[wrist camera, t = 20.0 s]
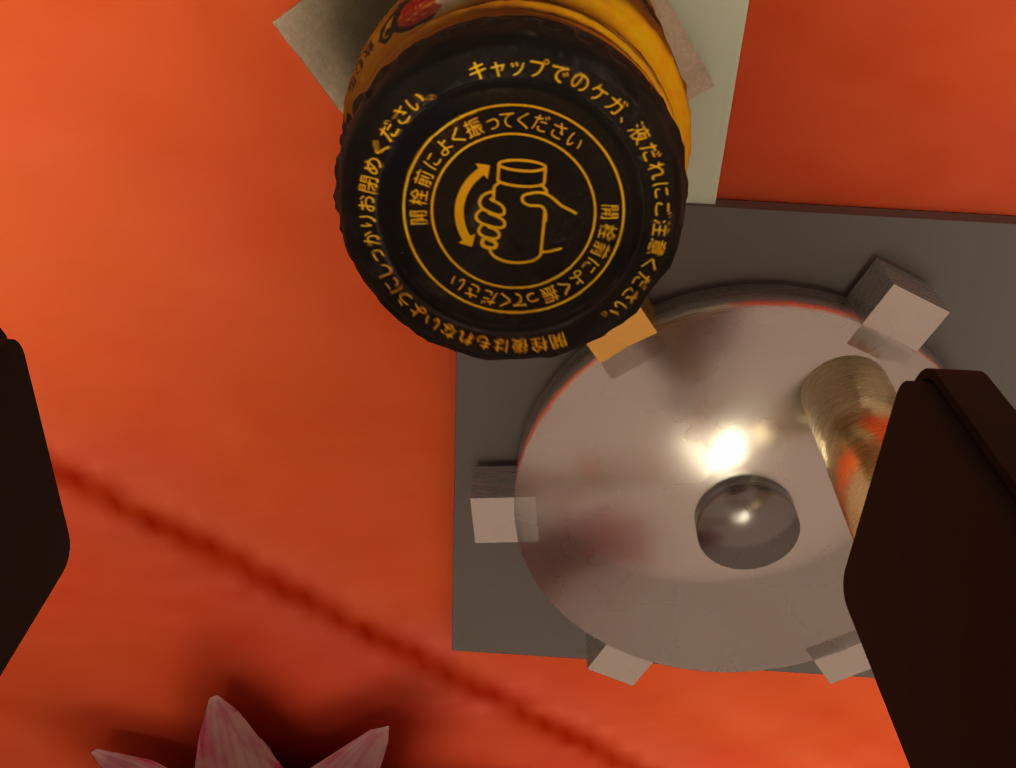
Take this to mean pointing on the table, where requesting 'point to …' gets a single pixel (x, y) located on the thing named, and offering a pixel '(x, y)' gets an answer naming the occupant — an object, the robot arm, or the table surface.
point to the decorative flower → (252, 746)
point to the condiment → (507, 159)
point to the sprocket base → (700, 266)
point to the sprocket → (713, 473)
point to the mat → (717, 40)
